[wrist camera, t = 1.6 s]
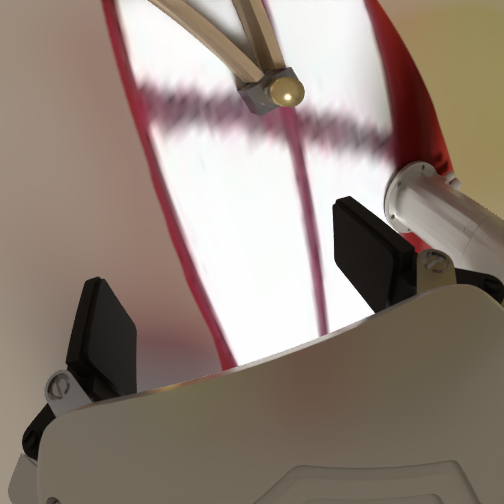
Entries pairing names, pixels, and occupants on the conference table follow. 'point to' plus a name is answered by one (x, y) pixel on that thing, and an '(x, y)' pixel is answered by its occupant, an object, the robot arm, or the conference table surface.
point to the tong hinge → (263, 91)
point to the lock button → (286, 91)
